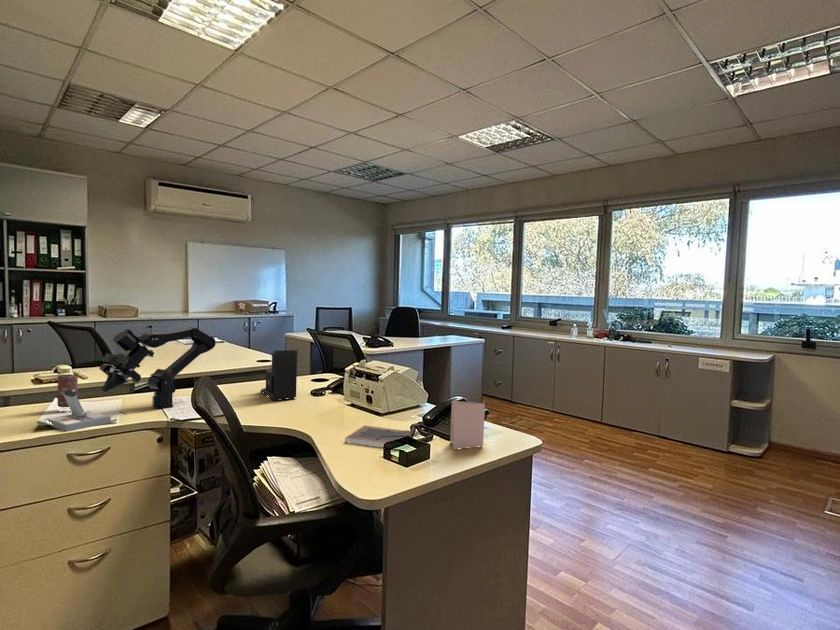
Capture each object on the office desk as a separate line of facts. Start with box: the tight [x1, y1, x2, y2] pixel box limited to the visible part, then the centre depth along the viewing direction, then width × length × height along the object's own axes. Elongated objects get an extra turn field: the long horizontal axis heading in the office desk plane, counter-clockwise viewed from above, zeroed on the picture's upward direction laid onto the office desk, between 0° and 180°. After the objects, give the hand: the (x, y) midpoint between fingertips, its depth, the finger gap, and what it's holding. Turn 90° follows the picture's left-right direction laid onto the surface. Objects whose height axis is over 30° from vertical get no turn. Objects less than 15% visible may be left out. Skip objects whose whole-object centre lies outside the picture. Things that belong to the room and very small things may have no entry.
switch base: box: [45, 410, 112, 432], centre depth 163 cm, size 14×14×2 cm
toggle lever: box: [60, 388, 86, 418], centre depth 161 cm, size 2×6×11 cm, turn 63°
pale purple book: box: [344, 425, 420, 449], centre depth 159 cm, size 16×2×22 cm
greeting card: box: [449, 400, 486, 450], centre depth 154 cm, size 11×7×15 cm, turn 77°
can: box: [57, 374, 79, 407], centre depth 178 cm, size 6×6×14 cm
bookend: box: [260, 349, 298, 401], centre depth 220 cm, size 23×11×24 cm, turn 34°
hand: (103, 391), depth 169 cm, fingers closed
